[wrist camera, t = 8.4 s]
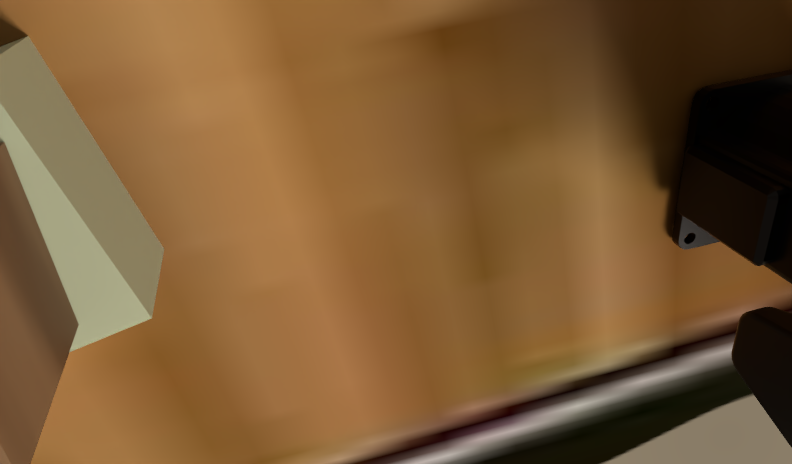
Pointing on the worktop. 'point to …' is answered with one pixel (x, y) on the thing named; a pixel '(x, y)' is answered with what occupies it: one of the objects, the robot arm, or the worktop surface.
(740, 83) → the robot arm
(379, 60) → the worktop surface
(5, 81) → the sage base block
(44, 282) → the walnut cube
